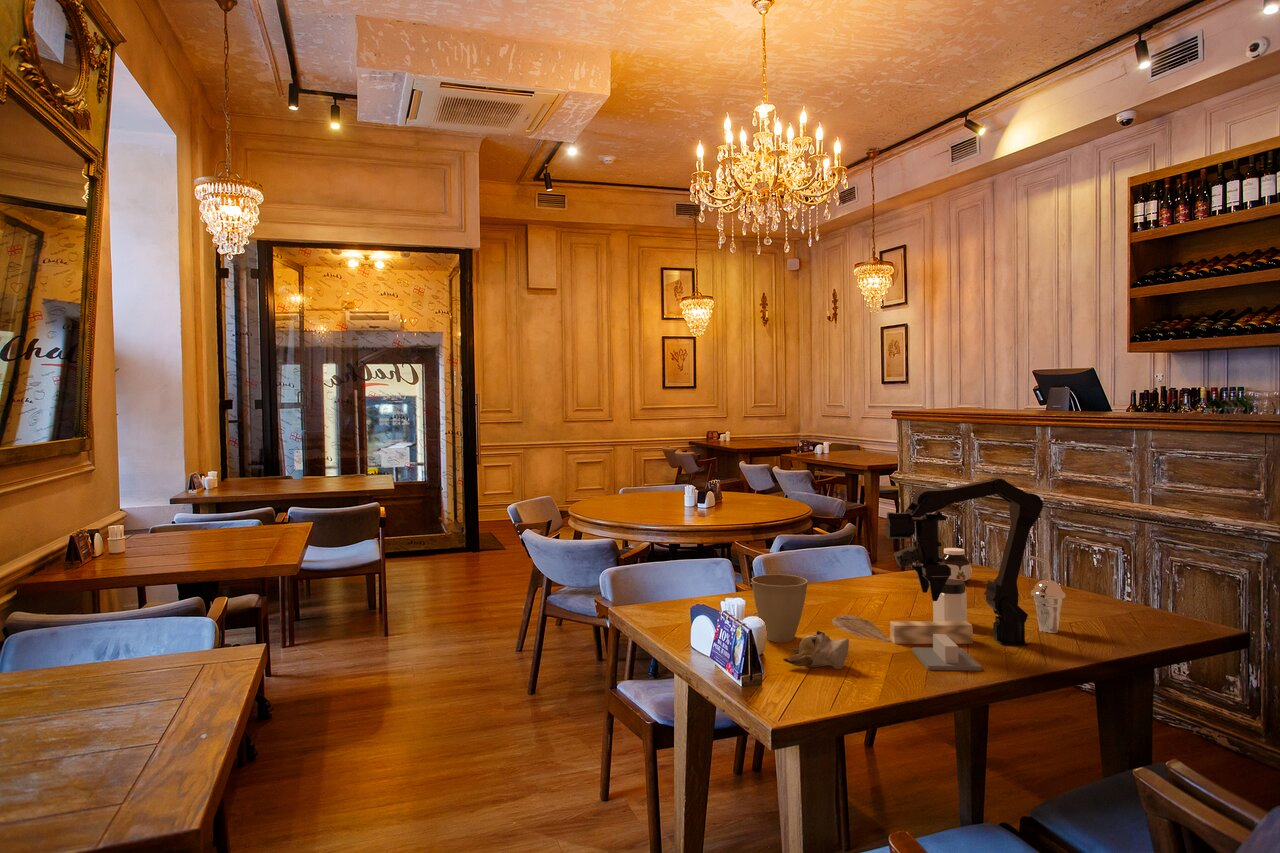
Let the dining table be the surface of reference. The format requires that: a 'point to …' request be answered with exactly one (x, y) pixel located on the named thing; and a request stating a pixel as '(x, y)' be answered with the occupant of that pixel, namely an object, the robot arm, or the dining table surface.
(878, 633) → the fish fossil
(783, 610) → the plant pot
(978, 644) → the dining table surface
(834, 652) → the ceramic sculpture
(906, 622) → the beech bar
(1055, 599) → the cup with straw
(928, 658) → the fulcrum
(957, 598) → the jar
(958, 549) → the spread jar
